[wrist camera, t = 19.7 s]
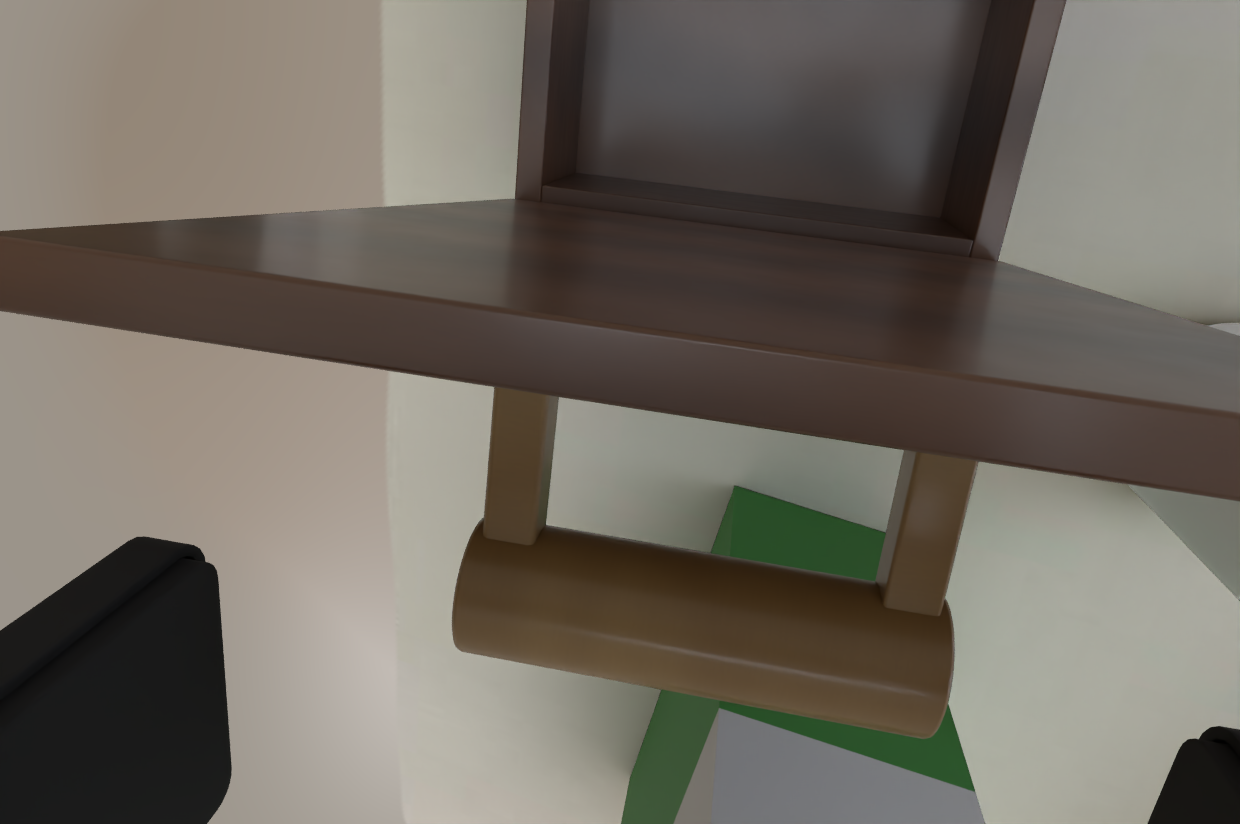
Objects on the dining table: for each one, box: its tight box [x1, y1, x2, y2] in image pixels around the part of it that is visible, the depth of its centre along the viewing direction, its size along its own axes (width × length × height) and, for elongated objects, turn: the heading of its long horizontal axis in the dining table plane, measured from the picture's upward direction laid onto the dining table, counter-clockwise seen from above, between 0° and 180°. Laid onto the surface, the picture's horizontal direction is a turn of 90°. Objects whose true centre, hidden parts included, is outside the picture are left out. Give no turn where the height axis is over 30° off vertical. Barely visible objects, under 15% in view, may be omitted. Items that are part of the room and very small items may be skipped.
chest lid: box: [0, 199, 1240, 739], centre depth 18 cm, size 21×16×5 cm
